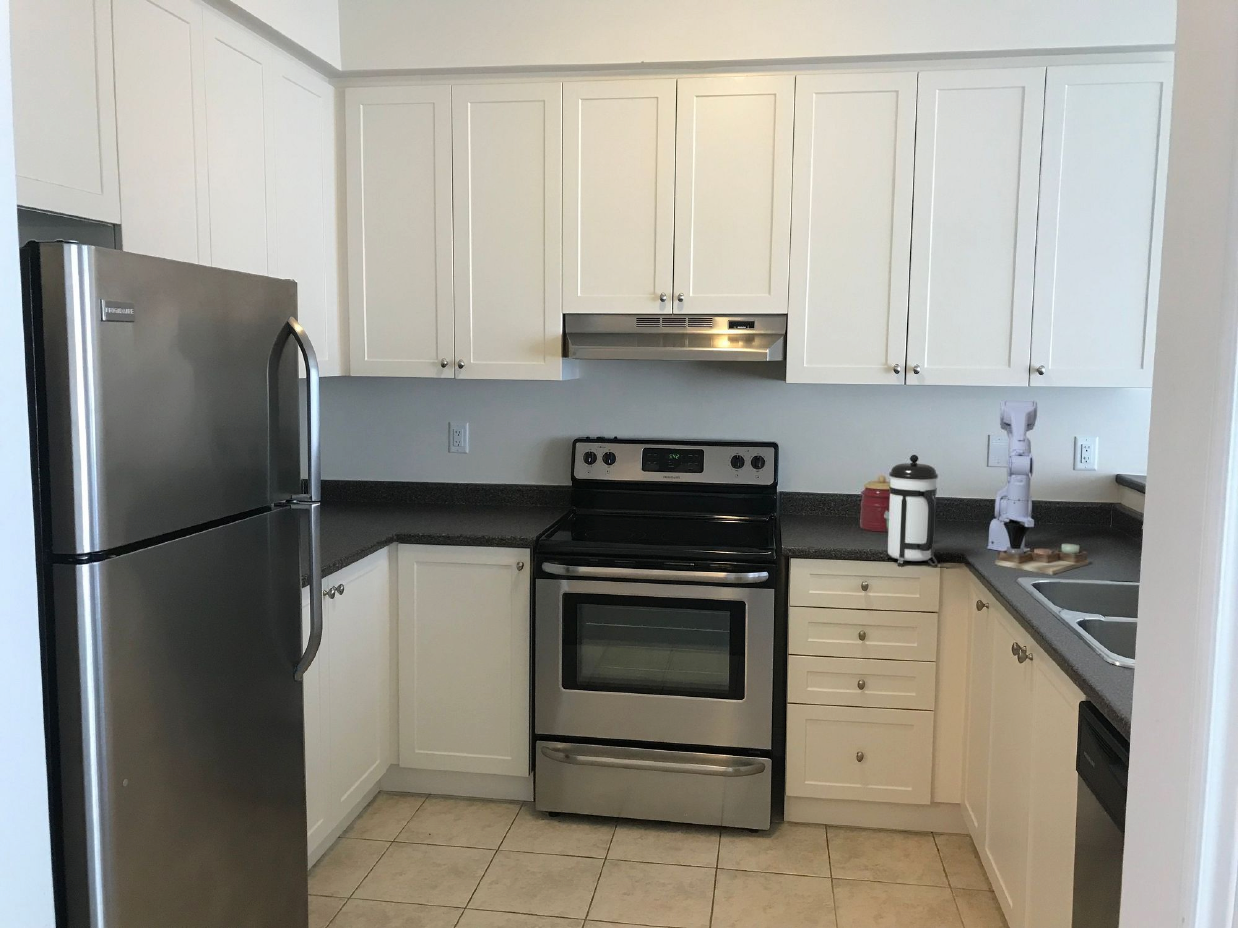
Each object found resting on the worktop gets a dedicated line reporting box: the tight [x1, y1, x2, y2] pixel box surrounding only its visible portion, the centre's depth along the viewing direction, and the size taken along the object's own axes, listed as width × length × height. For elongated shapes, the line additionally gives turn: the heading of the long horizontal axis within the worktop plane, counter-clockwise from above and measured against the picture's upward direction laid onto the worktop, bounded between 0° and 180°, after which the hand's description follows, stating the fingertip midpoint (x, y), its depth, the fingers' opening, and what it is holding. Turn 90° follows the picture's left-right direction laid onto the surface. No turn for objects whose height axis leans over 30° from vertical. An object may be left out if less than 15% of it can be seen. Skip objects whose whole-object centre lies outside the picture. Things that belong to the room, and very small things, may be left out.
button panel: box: [994, 548, 1090, 576], centre depth 266 cm, size 16×21×3 cm
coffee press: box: [883, 454, 939, 568], centre depth 265 cm, size 17×16×30 cm
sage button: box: [1060, 543, 1080, 554], centre depth 267 cm, size 4×4×3 cm
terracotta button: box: [1033, 548, 1053, 555], centre depth 266 cm, size 4×4×3 cm
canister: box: [859, 475, 891, 533], centre depth 318 cm, size 13×13×18 cm
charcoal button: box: [1007, 547, 1025, 555], centre depth 266 cm, size 4×4×3 cm
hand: (1015, 548), depth 265 cm, fingers closed
